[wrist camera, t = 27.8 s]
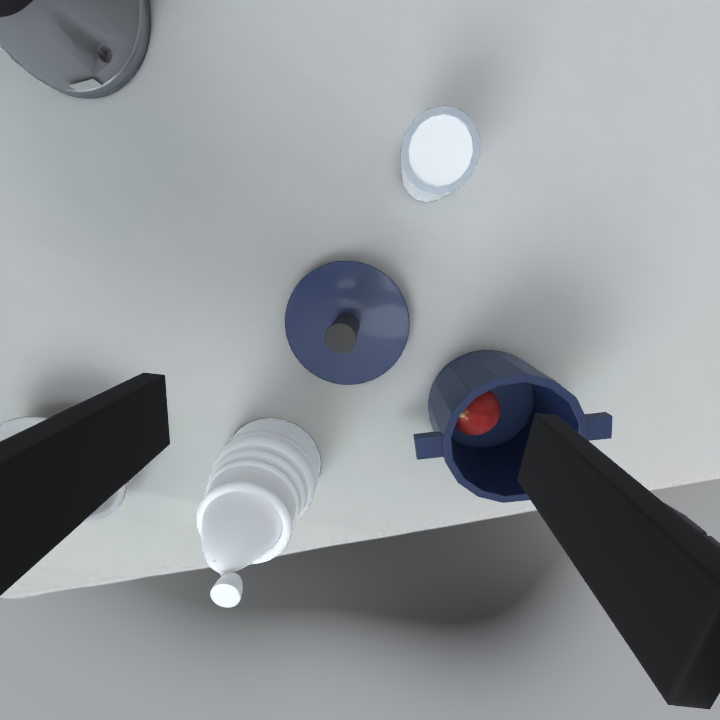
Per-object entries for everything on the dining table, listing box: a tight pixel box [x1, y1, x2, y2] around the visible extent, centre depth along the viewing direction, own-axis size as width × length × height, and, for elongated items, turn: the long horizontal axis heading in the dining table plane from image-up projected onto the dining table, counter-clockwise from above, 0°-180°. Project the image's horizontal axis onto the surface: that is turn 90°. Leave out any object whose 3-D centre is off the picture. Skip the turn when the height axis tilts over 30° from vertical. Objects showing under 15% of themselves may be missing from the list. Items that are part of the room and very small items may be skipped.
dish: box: [0, 417, 126, 522], centre depth 44 cm, size 18×14×5 cm
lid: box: [285, 261, 409, 385], centre depth 36 cm, size 15×15×9 cm
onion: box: [455, 390, 500, 435], centre depth 38 cm, size 6×6×8 cm
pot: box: [414, 350, 612, 502], centre depth 37 cm, size 14×19×10 cm
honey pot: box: [196, 418, 321, 607], centre depth 37 cm, size 13×13×18 cm
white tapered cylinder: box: [401, 106, 481, 202], centre depth 32 cm, size 7×7×7 cm
